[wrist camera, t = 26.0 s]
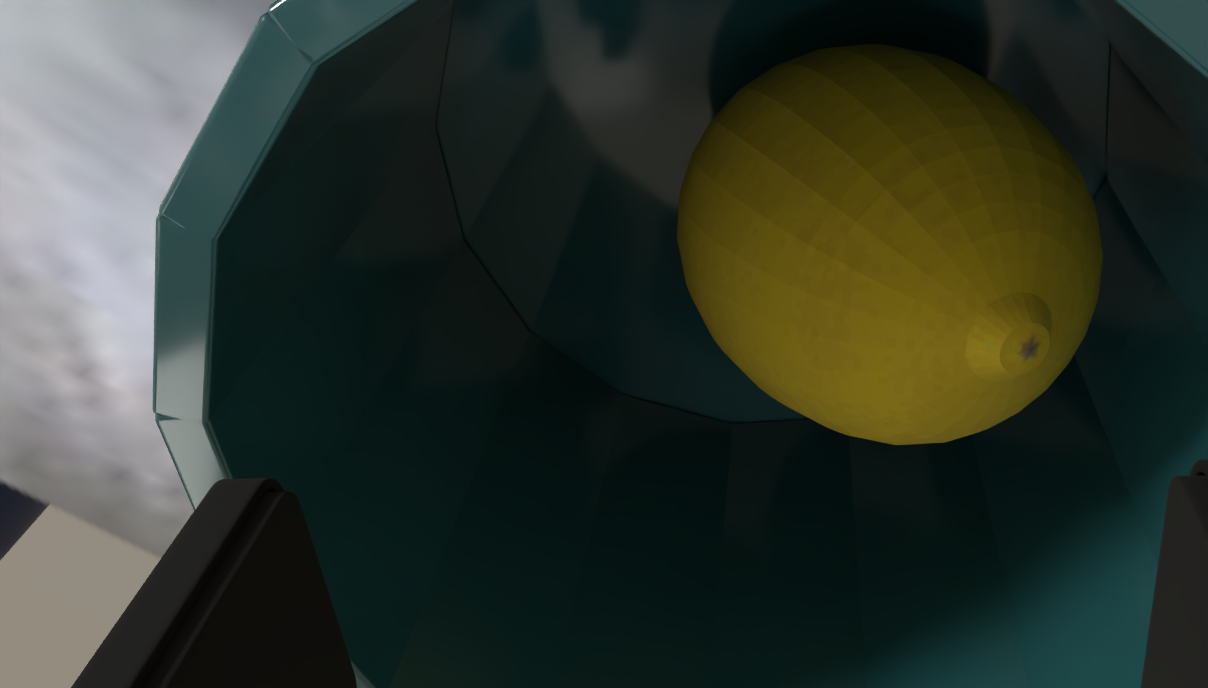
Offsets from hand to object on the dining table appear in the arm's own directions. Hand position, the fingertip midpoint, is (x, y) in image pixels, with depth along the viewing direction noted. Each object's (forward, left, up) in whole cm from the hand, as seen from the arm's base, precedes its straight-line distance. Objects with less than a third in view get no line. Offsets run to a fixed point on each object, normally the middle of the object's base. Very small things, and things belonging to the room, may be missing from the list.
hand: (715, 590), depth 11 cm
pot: (0, 0, -12) cm, 12 cm away
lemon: (0, 0, -11) cm, 11 cm away
